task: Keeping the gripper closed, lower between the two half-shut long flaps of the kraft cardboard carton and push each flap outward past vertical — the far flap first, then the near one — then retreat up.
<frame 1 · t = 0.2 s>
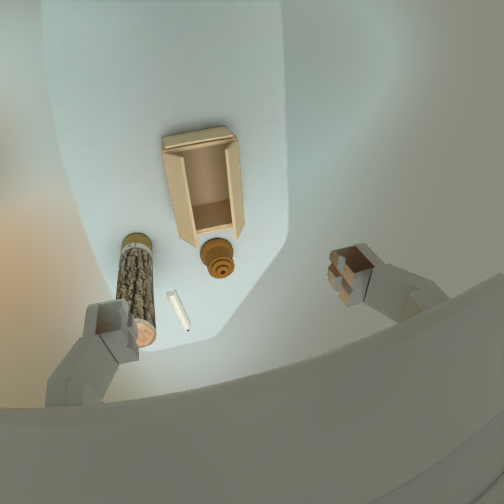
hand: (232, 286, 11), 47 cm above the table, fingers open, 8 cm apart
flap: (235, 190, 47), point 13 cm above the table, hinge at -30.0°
carton: (198, 169, 56), on the table
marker: (180, 310, 77), on the table
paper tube: (137, 244, 62), on the table
ornamental finial: (215, 250, 69), on the table
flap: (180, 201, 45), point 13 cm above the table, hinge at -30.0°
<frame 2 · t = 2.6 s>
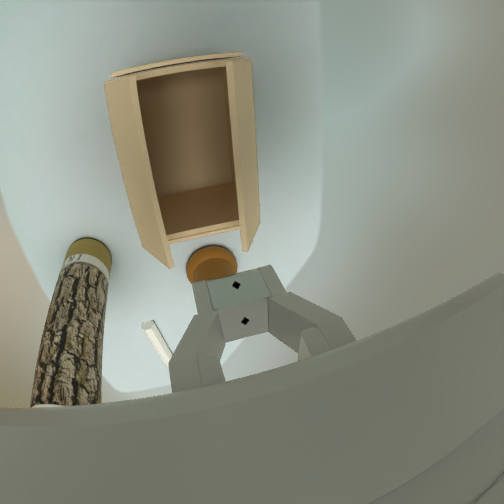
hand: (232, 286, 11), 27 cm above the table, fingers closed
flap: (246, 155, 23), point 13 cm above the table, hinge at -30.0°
carton: (181, 132, 32), on the table
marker: (162, 345, 53), on the table
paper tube: (89, 255, 38), on the table
ornamental finial: (210, 263, 44), on the table
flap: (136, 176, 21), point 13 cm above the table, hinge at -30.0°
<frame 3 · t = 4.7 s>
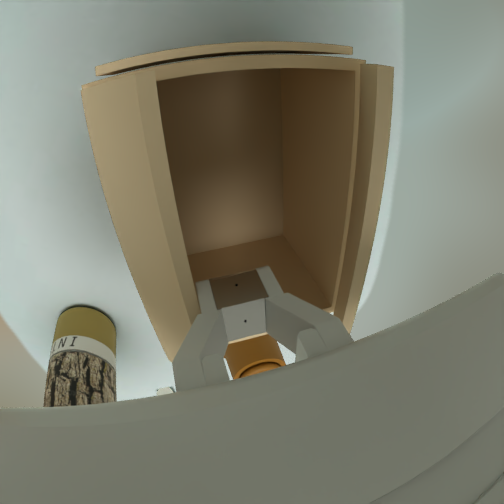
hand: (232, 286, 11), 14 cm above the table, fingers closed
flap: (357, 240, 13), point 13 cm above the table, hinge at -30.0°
carton: (213, 164, 22), on the table
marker: (180, 406, 43), on the table
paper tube: (86, 324, 28), on the table
ornamental finial: (243, 328, 34), on the table
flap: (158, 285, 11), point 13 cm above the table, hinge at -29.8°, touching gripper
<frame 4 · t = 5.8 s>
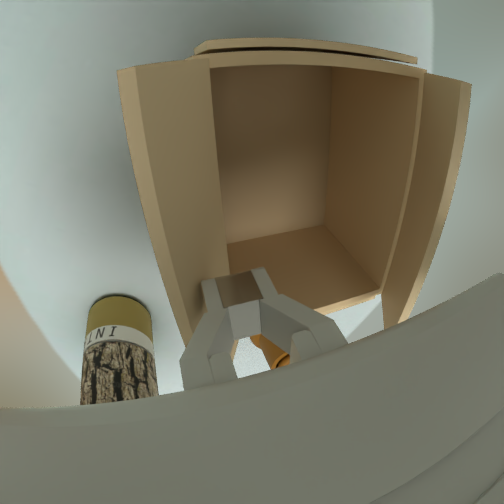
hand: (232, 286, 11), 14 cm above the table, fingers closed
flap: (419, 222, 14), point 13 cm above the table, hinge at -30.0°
carton: (266, 153, 23), on the table
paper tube: (119, 315, 28), on the table
ornamental finial: (276, 317, 35), on the table
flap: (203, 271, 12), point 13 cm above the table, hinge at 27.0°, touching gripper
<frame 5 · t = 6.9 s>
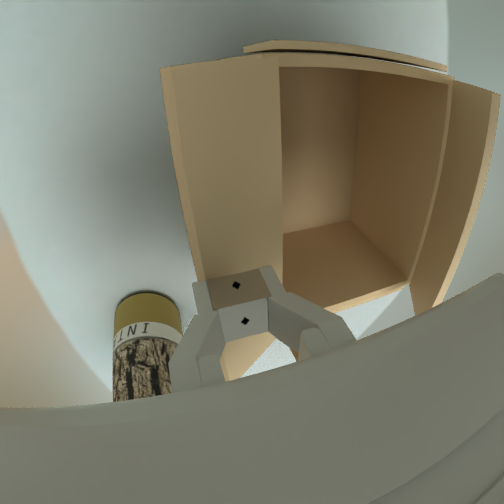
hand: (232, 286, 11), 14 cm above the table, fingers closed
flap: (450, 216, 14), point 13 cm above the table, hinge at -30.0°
carton: (298, 151, 23), on the table
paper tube: (146, 312, 29), on the table
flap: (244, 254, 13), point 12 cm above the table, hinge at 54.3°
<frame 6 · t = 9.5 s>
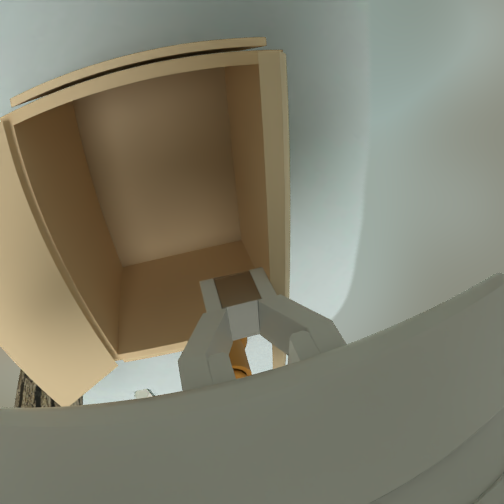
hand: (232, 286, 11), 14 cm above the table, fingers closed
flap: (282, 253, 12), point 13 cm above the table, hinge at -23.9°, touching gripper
carton: (162, 171, 21), on the table
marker: (161, 408, 42), on the table
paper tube: (59, 328, 27), on the table
ornamental finial: (212, 333, 34), on the table
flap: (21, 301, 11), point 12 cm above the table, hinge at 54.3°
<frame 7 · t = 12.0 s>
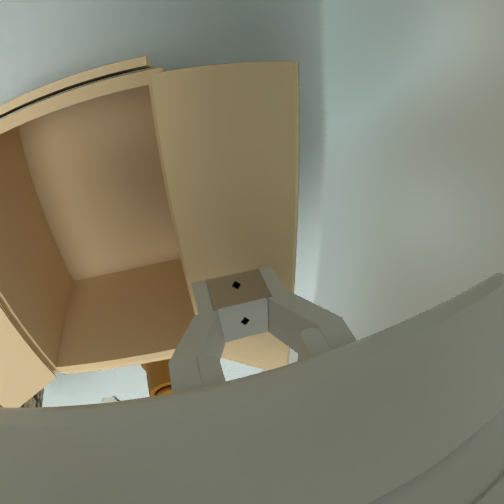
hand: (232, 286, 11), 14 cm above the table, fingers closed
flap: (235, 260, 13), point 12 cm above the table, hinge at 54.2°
carton: (102, 189, 20), on the table
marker: (130, 415, 41), on the table
ornamental finial: (169, 346, 33), on the table
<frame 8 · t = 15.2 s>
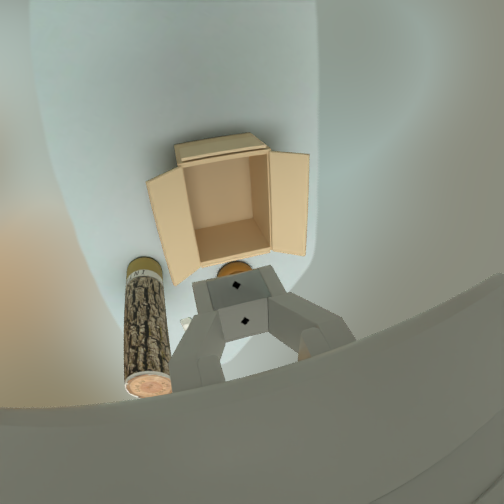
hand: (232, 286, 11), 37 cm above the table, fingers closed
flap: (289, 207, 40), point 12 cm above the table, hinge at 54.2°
carton: (217, 183, 48), on the table
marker: (194, 337, 69), on the table
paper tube: (144, 269, 54), on the table
ornamental finial: (233, 274, 61), on the table
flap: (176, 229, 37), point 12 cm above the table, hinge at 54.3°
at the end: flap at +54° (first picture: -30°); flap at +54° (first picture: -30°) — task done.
